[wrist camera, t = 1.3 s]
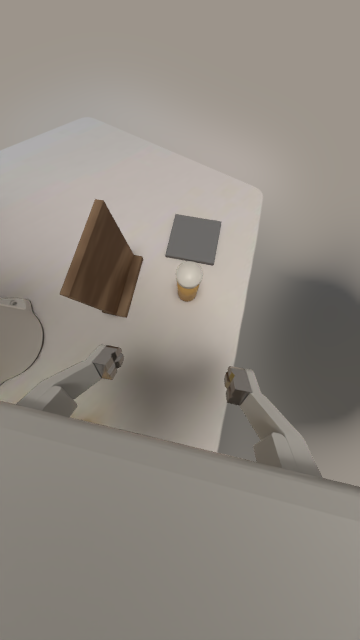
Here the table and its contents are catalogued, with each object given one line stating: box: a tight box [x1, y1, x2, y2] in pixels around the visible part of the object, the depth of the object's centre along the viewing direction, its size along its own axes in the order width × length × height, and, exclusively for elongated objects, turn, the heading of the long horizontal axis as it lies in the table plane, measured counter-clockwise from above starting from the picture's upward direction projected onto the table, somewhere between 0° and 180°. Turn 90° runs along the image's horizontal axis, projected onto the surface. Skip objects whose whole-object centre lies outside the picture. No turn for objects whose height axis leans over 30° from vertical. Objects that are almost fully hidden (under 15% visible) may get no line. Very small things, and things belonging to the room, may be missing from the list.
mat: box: [165, 214, 221, 265], centre depth 30 cm, size 11×11×1 cm
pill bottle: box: [176, 261, 203, 301], centre depth 24 cm, size 4×4×8 cm
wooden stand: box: [60, 199, 143, 318], centre depth 22 cm, size 5×14×12 cm, turn 168°
